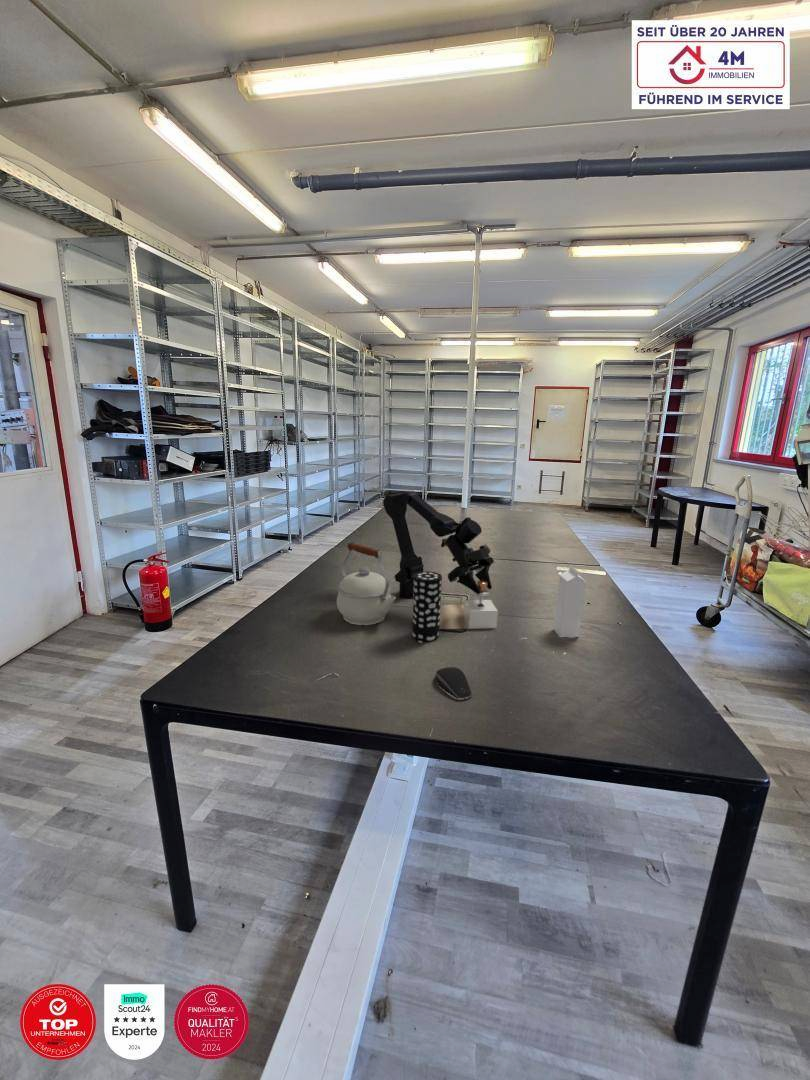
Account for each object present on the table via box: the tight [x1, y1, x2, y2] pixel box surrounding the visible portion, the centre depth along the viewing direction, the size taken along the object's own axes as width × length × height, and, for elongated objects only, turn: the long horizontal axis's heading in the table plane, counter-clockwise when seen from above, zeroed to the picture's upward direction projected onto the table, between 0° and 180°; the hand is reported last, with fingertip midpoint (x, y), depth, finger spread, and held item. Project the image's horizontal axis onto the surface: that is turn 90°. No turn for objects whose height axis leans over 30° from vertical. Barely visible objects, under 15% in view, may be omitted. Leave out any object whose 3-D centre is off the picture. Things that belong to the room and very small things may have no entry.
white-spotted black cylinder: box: [411, 570, 443, 644], centre depth 133 cm, size 8×8×20 cm
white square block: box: [463, 599, 499, 629], centre depth 145 cm, size 9×9×6 cm
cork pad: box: [439, 604, 480, 630], centre depth 150 cm, size 19×19×1 cm
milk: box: [552, 565, 587, 638], centre depth 137 cm, size 6×6×22 cm
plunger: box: [473, 580, 491, 607], centre depth 143 cm, size 5×5×9 cm
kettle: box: [336, 541, 396, 626], centre depth 145 cm, size 25×18×25 cm
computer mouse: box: [435, 666, 473, 698], centre depth 110 cm, size 7×12×4 cm, turn 23°
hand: (485, 591), depth 142 cm, fingers open, 6 cm apart
